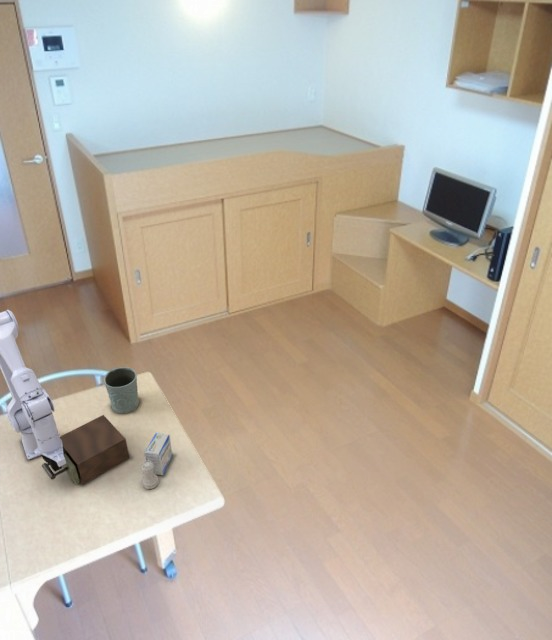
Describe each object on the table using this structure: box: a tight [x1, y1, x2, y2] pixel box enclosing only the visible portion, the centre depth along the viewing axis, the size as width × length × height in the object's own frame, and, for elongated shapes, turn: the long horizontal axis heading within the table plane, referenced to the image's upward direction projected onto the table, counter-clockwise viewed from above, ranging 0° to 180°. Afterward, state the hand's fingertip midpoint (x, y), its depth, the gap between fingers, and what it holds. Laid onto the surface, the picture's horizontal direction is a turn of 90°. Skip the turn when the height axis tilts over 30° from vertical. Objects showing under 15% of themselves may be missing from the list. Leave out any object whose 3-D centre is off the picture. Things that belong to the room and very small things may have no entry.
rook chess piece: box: [140, 459, 160, 490], centre depth 144 cm, size 4×4×8 cm
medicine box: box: [144, 432, 173, 476], centre depth 150 cm, size 8×4×9 cm, turn 168°
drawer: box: [41, 450, 81, 485], centre depth 150 cm, size 18×12×6 cm, turn 133°
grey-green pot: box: [103, 366, 140, 415], centre depth 170 cm, size 10×10×12 cm
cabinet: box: [59, 414, 130, 485], centre depth 152 cm, size 14×13×8 cm
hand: (57, 468), depth 146 cm, fingers closed, pressing on drawer
